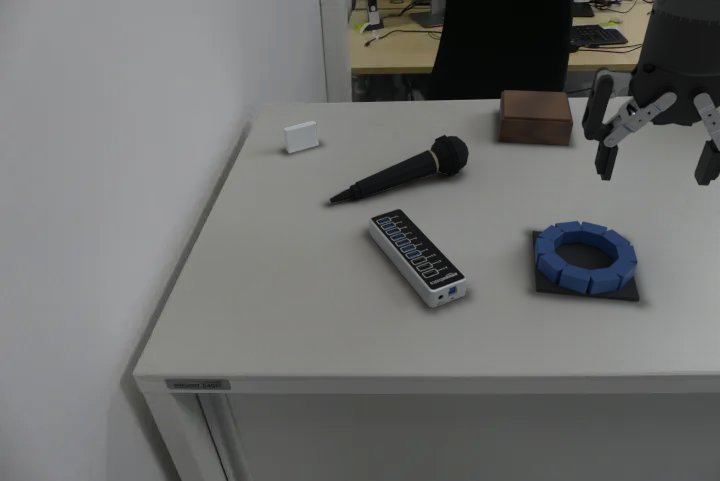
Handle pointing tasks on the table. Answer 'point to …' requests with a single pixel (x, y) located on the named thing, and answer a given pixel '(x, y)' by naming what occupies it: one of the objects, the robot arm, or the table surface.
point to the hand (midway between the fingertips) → (651, 178)
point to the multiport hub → (418, 258)
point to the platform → (535, 117)
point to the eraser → (301, 136)
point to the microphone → (413, 169)
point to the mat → (588, 260)
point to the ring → (582, 277)
